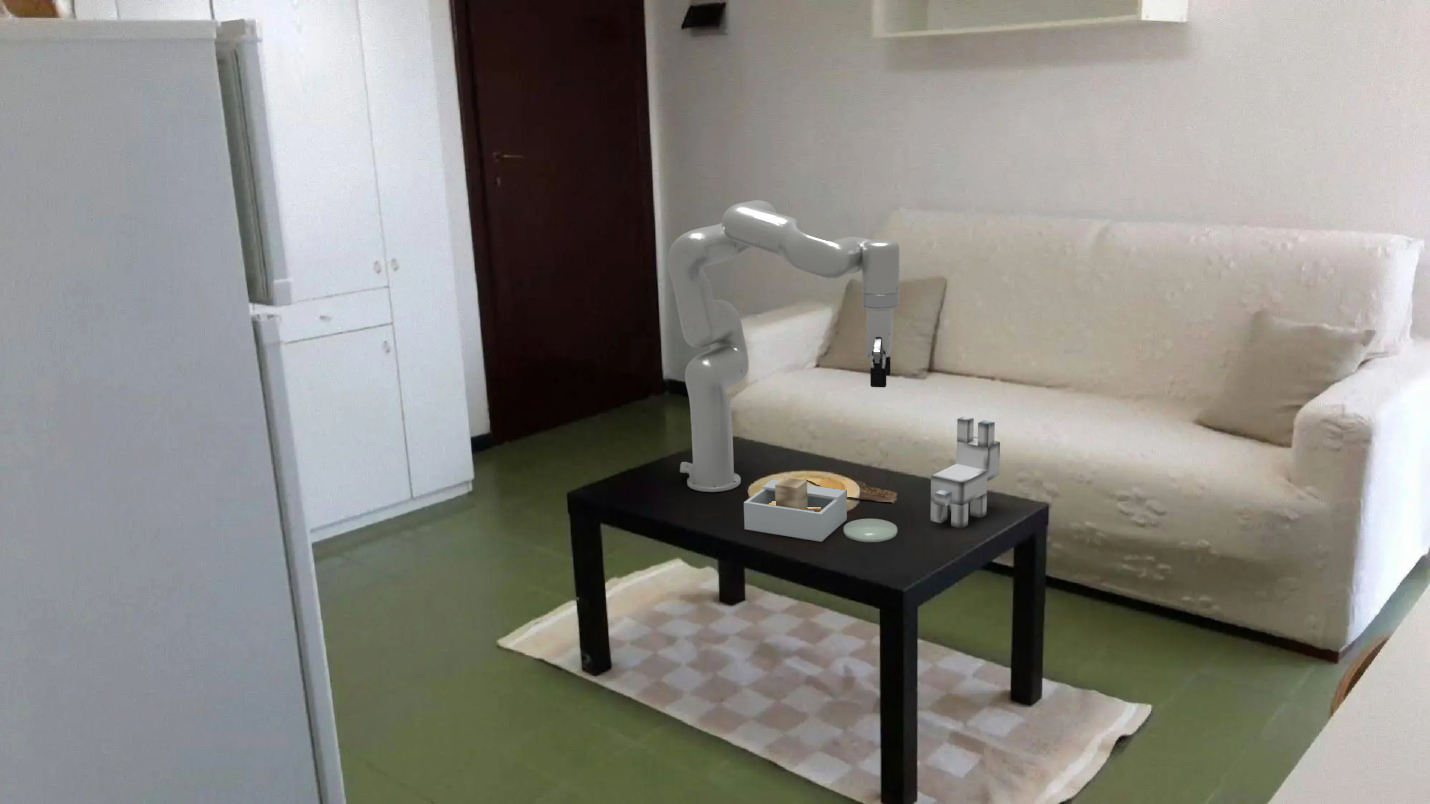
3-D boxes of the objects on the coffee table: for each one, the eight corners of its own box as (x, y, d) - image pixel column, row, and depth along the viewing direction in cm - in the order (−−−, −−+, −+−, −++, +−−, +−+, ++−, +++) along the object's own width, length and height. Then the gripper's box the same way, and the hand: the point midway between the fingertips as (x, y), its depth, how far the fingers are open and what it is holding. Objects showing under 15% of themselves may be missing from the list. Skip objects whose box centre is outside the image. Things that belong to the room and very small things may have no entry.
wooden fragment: (910, 498, 257) (910, 493, 257) (878, 511, 250) (878, 506, 250) (824, 473, 276) (824, 469, 276) (792, 485, 269) (792, 481, 268)
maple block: (775, 516, 241) (775, 484, 239) (786, 508, 245) (785, 477, 243) (797, 519, 238) (797, 487, 236) (807, 511, 242) (807, 480, 241)
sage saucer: (835, 537, 236) (835, 533, 236) (855, 519, 245) (855, 515, 245) (886, 545, 231) (886, 541, 231) (904, 526, 240) (904, 523, 240)
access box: (744, 529, 242) (743, 499, 241) (772, 507, 254) (771, 479, 252) (821, 541, 234) (821, 511, 232) (846, 519, 246) (846, 490, 244)
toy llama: (924, 523, 241) (925, 433, 236) (967, 500, 254) (969, 413, 248) (955, 532, 236) (956, 439, 231) (998, 507, 249) (1000, 419, 243)
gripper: (866, 292, 245) (866, 370, 250) (857, 308, 229) (858, 391, 233) (902, 293, 243) (901, 371, 248) (895, 308, 227) (895, 392, 232)
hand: (880, 380), depth 241 cm, fingers open, 9 cm apart
